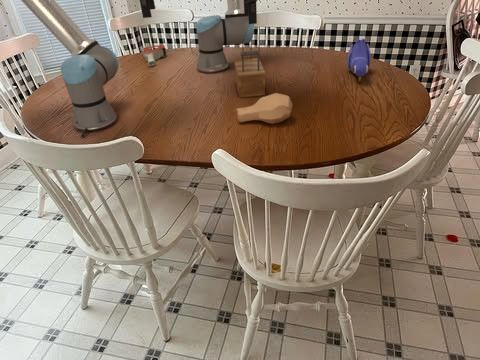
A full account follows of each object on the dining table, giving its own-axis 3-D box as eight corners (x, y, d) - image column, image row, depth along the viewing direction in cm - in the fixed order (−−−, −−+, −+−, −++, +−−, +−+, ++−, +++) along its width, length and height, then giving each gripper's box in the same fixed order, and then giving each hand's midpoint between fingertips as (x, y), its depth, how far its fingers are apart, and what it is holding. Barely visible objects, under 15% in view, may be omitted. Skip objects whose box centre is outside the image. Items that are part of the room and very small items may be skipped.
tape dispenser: (152, 70, 182) (177, 56, 195) (150, 60, 179) (175, 46, 191) (127, 64, 190) (153, 51, 202) (125, 54, 186) (151, 41, 199)
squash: (296, 124, 124) (294, 103, 117) (239, 134, 126) (235, 113, 119) (291, 106, 131) (289, 85, 125) (238, 116, 133) (233, 96, 127)
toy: (345, 75, 169) (348, 84, 147) (347, 38, 162) (351, 41, 140) (367, 75, 167) (373, 84, 145) (370, 36, 160) (377, 40, 138)
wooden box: (265, 95, 146) (264, 73, 140) (239, 97, 145) (238, 75, 140) (259, 80, 159) (258, 60, 154) (235, 82, 159) (234, 62, 153)
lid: (265, 73, 140) (264, 51, 135) (238, 76, 139) (236, 53, 134) (258, 60, 154) (258, 39, 149) (234, 62, 153) (233, 41, 148)
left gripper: (143, -62, 99) (157, 20, 111) (151, -64, 119) (163, 5, 131) (115, -60, 98) (133, 22, 111) (129, -63, 118) (142, 7, 131)
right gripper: (265, -51, 104) (266, 26, 117) (254, -55, 124) (255, 11, 137) (240, -49, 104) (243, 28, 116) (233, -54, 124) (236, 13, 136)
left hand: (149, 13), depth 121 cm, fingers open, 13 cm apart
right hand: (250, 19), depth 127 cm, fingers open, 13 cm apart
